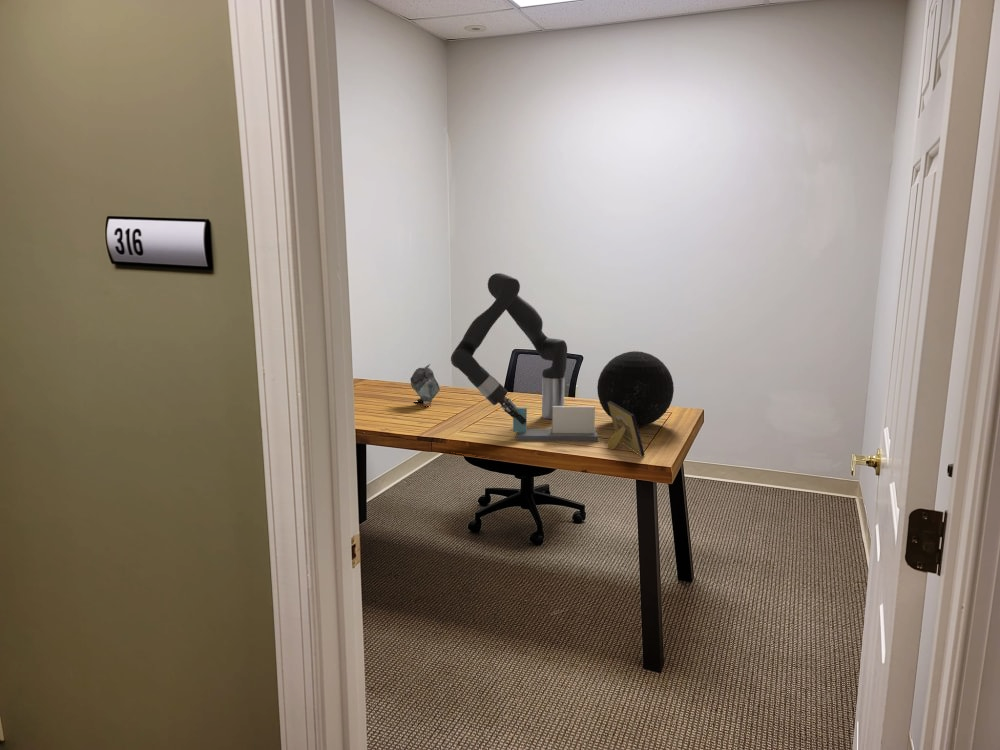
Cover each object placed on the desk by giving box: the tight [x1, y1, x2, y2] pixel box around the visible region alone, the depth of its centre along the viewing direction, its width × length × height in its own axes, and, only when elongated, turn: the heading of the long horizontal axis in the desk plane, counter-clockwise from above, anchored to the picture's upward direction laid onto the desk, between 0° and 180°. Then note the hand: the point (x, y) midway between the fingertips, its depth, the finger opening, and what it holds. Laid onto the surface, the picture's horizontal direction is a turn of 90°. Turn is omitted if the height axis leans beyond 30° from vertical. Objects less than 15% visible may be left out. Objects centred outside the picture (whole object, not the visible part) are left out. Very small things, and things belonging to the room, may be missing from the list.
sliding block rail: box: [516, 405, 599, 443], centre depth 263 cm, size 10×30×12 cm, turn 88°
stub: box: [512, 407, 528, 433], centre depth 263 cm, size 1×5×9 cm, turn 89°
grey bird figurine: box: [410, 363, 441, 407], centre depth 317 cm, size 14×15×18 cm
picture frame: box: [606, 401, 646, 457], centre depth 249 cm, size 23×9×15 cm, turn 12°
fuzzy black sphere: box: [596, 350, 675, 427], centre depth 280 cm, size 30×30×30 cm
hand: (524, 422), depth 263 cm, fingers closed
